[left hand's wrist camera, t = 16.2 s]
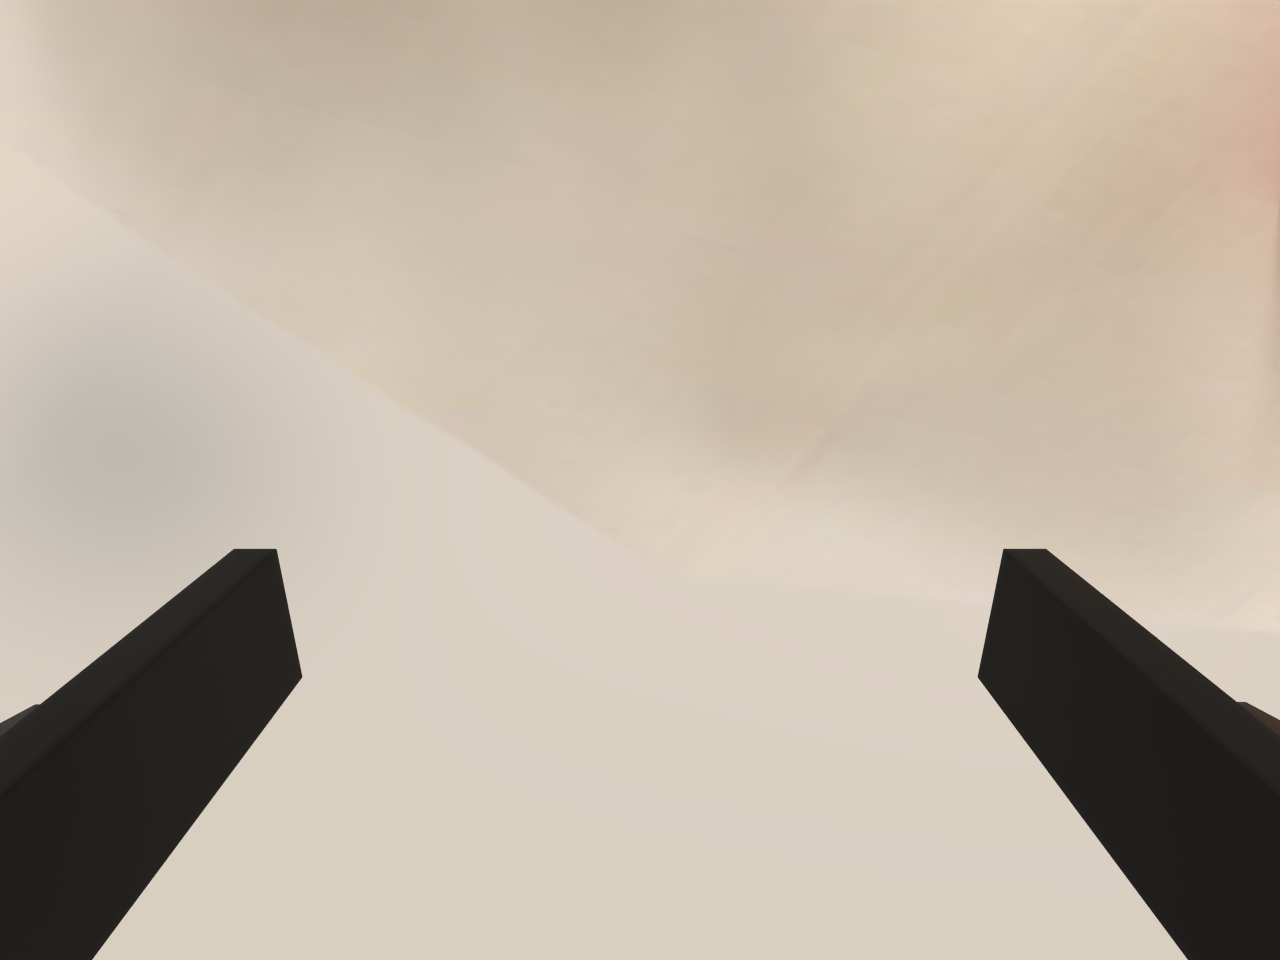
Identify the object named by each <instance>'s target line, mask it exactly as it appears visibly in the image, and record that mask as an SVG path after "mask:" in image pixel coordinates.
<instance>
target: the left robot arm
mask: <svg viewBox="0 0 1280 960" xmlns="http://www.w3.org/2000/svg"><path fill="white" fill-rule="evenodd" d="M301 678H302V673H301V668H300V663H299V658H298V653H297V648H296V643H295V638H294V633H293V628H292V624H291V619H290V614H289V609H288V604H287V599H286V594H285V589H284V584H283V579H282V574H281V569H280V564H279V559H278V554H277V549H233V550H232V551H231V552H230V553H228V554H227V555H226V556H225V557H223V558H222V559H221V560H220V561H218V562H217V563H216V564H215V565H213V566H212V567H211V568H210V569H208V570H207V571H206V572H205V573H204V574H202V575H201V576H200V577H198V578H197V579H196V580H195V581H194V582H192V583H191V584H190V585H189V586H187V587H186V588H185V589H184V590H182V591H181V592H180V593H179V594H177V595H176V596H175V597H174V598H172V599H171V600H170V601H169V602H167V603H166V604H165V605H164V606H162V607H161V608H160V609H159V610H157V611H156V612H155V613H154V614H152V615H151V616H150V617H149V618H147V619H146V620H145V621H144V622H142V623H141V624H140V625H139V626H137V627H136V628H135V629H134V630H133V631H131V632H130V633H129V634H127V635H126V636H125V637H124V638H122V639H121V640H120V641H119V642H118V643H116V644H115V645H114V646H113V647H111V648H110V649H109V650H108V651H106V652H105V653H104V654H103V655H101V656H100V657H99V658H98V659H96V660H95V661H94V662H93V663H91V664H90V665H89V666H88V667H86V668H85V669H84V670H83V671H81V672H80V673H79V674H78V675H76V676H75V677H74V678H73V679H71V680H70V681H69V682H68V683H66V684H65V685H64V686H63V687H61V688H60V689H59V690H58V691H56V692H55V693H54V694H53V695H52V696H50V697H49V698H48V699H46V700H45V701H44V702H43V703H41V704H40V705H33V706H32V707H30V708H28V709H26V710H24V711H22V712H20V713H18V714H17V715H15V716H13V717H11V718H9V719H7V720H5V721H4V722H2V723H0V960H92V959H93V958H94V956H95V955H96V954H97V952H98V951H99V950H100V948H101V947H102V946H103V944H104V943H105V942H106V940H107V939H108V938H109V936H110V935H111V934H112V932H113V931H114V930H115V928H116V927H117V926H118V924H119V923H120V921H121V920H122V919H123V917H124V916H125V915H126V913H127V912H128V911H129V909H130V908H131V907H132V905H133V904H134V903H135V901H136V900H137V899H138V897H139V896H140V895H141V893H142V892H143V890H144V889H145V888H146V887H147V885H148V884H149V883H150V881H151V880H152V878H153V877H154V876H155V874H156V873H157V872H158V870H159V869H160V868H161V866H162V865H163V864H164V862H165V861H166V860H167V858H168V857H169V856H170V854H171V853H172V852H173V850H174V849H175V848H176V846H177V845H178V843H179V842H180V841H181V839H182V838H183V837H184V835H185V834H186V833H187V831H188V830H189V829H190V827H191V826H192V825H193V823H194V822H195V821H196V819H197V818H198V817H199V815H200V814H201V813H202V811H203V810H204V809H205V807H206V806H207V804H208V803H209V802H210V801H211V799H212V798H213V796H214V795H215V794H216V792H217V791H218V790H219V788H220V787H221V786H222V784H223V783H224V782H225V780H226V779H227V778H228V776H229V775H230V774H231V772H232V771H233V770H234V768H235V767H236V766H237V764H238V763H239V762H240V760H241V759H242V758H243V756H244V755H245V753H246V752H247V751H248V749H249V748H250V747H251V745H252V744H253V743H254V741H255V740H256V739H257V737H258V736H259V735H260V733H261V732H262V731H263V729H264V728H265V727H266V725H267V724H268V723H269V721H270V720H271V719H272V717H273V716H274V714H275V713H276V712H277V710H278V709H279V708H280V706H281V705H282V704H283V702H284V701H285V700H286V698H287V697H288V696H289V694H290V693H291V692H292V690H293V689H294V688H295V686H296V685H297V684H298V682H299V681H300V679H301ZM978 678H979V680H980V681H981V682H982V684H983V685H984V686H985V688H986V689H987V690H988V692H989V693H990V694H991V696H992V697H993V698H994V700H995V701H996V702H997V704H998V705H999V706H1000V708H1001V709H1002V710H1003V712H1004V713H1005V714H1006V716H1007V717H1008V719H1009V720H1010V721H1011V723H1012V724H1013V725H1014V726H1015V728H1016V729H1017V731H1018V732H1019V733H1020V735H1021V736H1022V737H1023V739H1024V740H1025V741H1026V743H1027V744H1028V745H1029V747H1030V748H1031V749H1032V751H1033V752H1034V753H1035V755H1036V756H1037V757H1038V759H1039V760H1040V761H1041V763H1042V764H1043V765H1044V767H1045V768H1046V770H1047V771H1048V772H1049V774H1050V775H1051V776H1052V778H1053V779H1054V780H1055V782H1056V783H1057V784H1058V786H1059V787H1060V788H1061V790H1062V791H1063V792H1064V794H1065V795H1066V796H1067V798H1068V799H1069V800H1070V802H1071V803H1072V805H1073V806H1074V807H1075V809H1076V810H1077V811H1078V813H1079V814H1080V815H1081V817H1082V818H1083V819H1084V821H1085V822H1086V823H1087V825H1088V826H1089V827H1090V829H1091V830H1092V831H1093V833H1094V834H1095V835H1096V837H1097V838H1098V839H1099V841H1100V842H1101V844H1102V845H1103V846H1104V848H1105V849H1106V850H1107V852H1108V853H1109V854H1110V856H1111V857H1112V858H1113V860H1114V861H1115V862H1116V864H1117V865H1118V866H1119V868H1120V869H1121V870H1122V872H1123V873H1124V874H1125V876H1126V877H1127V878H1128V880H1129V881H1130V883H1131V884H1132V885H1133V887H1134V888H1135V889H1136V890H1137V892H1138V893H1139V895H1140V896H1141V897H1142V899H1143V900H1144V901H1145V903H1146V904H1147V905H1148V907H1149V908H1150V909H1151V911H1152V912H1153V913H1154V915H1155V916H1156V917H1157V919H1158V920H1159V921H1160V923H1161V924H1162V926H1163V927H1164V928H1165V930H1166V931H1167V932H1168V934H1169V935H1170V936H1171V938H1172V939H1173V940H1174V942H1175V943H1176V944H1177V946H1178V947H1179V948H1180V950H1181V951H1182V952H1183V954H1184V955H1185V956H1186V958H1187V959H1188V960H1280V720H1278V719H1277V718H1275V717H1273V716H1271V715H1269V714H1267V713H1265V712H1263V711H1262V710H1260V709H1258V708H1256V707H1254V706H1252V705H1250V704H1248V703H1246V702H1236V701H1235V700H1234V699H1232V698H1231V697H1230V696H1229V695H1227V694H1226V693H1225V692H1223V691H1222V690H1221V689H1220V688H1218V687H1217V686H1216V685H1215V684H1214V683H1212V682H1211V681H1210V680H1209V679H1207V678H1206V677H1205V676H1204V675H1202V674H1201V673H1200V672H1199V671H1197V670H1196V669H1195V668H1194V667H1192V666H1191V665H1190V664H1189V663H1187V662H1186V661H1185V660H1184V659H1182V658H1181V657H1180V656H1179V655H1177V654H1176V653H1175V652H1174V651H1172V650H1171V649H1170V648H1169V647H1167V646H1166V645H1165V644H1164V643H1163V642H1161V641H1160V640H1159V639H1158V638H1156V637H1155V636H1154V635H1153V634H1151V633H1150V632H1149V631H1148V630H1146V629H1145V628H1144V627H1143V626H1141V625H1140V624H1139V623H1138V622H1136V621H1135V620H1134V619H1133V618H1131V617H1130V616H1129V615H1128V614H1126V613H1125V612H1124V611H1123V610H1121V609H1120V608H1119V607H1118V606H1116V605H1115V604H1114V603H1113V602H1111V601H1110V600H1109V599H1108V598H1106V597H1105V596H1104V595H1103V594H1101V593H1100V592H1099V591H1098V590H1096V589H1095V588H1094V587H1093V586H1091V585H1090V584H1089V583H1088V582H1086V581H1085V580H1084V579H1083V578H1082V577H1080V576H1079V575H1078V574H1077V573H1075V572H1074V571H1073V570H1072V569H1070V568H1069V567H1068V566H1067V565H1065V564H1064V563H1063V562H1062V561H1060V560H1059V559H1058V558H1057V557H1055V556H1054V555H1053V554H1052V553H1050V552H1049V551H1048V550H1047V549H1003V554H1002V559H1001V564H1000V569H999V574H998V579H997V584H996V589H995V594H994V599H993V604H992V609H991V614H990V618H989V623H988V628H987V633H986V638H985V643H984V648H983V653H982V658H981V663H980V668H979V673H978Z"/></svg>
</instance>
